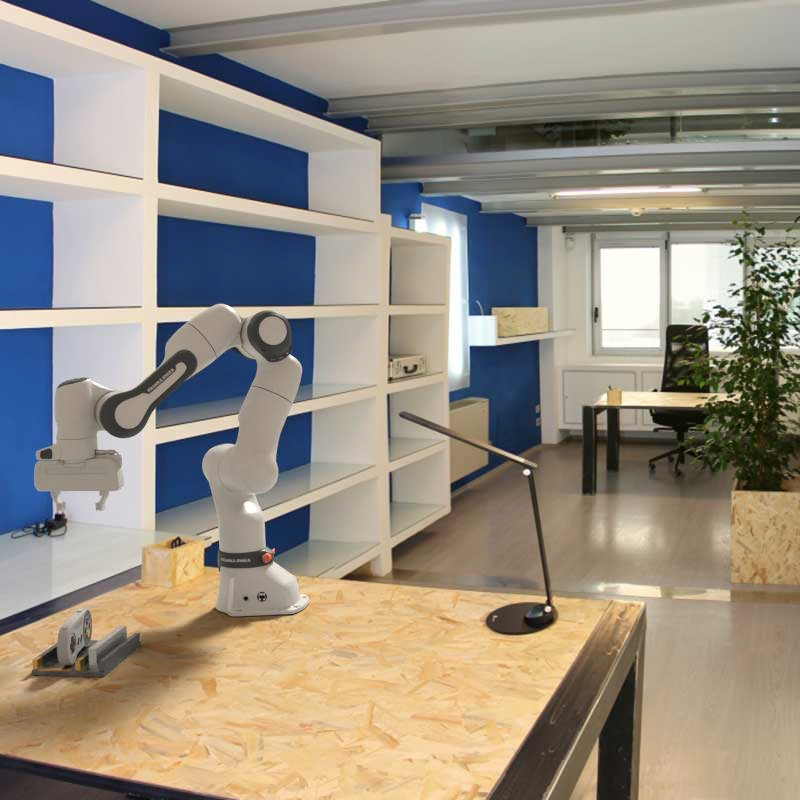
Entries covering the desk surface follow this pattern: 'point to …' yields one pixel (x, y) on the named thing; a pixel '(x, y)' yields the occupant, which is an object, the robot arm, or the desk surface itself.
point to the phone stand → (90, 656)
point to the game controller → (74, 636)
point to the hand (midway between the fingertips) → (80, 510)
